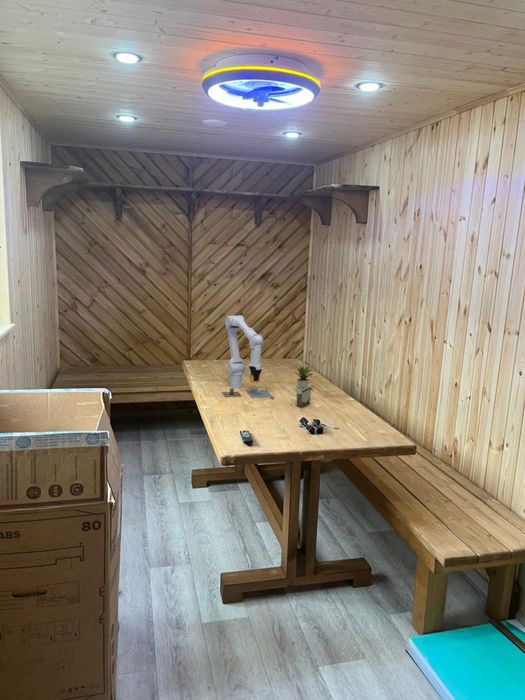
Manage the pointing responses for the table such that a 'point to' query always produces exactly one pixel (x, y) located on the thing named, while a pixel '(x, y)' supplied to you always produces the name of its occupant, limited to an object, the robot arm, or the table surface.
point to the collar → (253, 379)
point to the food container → (303, 396)
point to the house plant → (303, 375)
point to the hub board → (263, 394)
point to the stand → (231, 393)
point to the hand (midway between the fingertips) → (254, 379)
